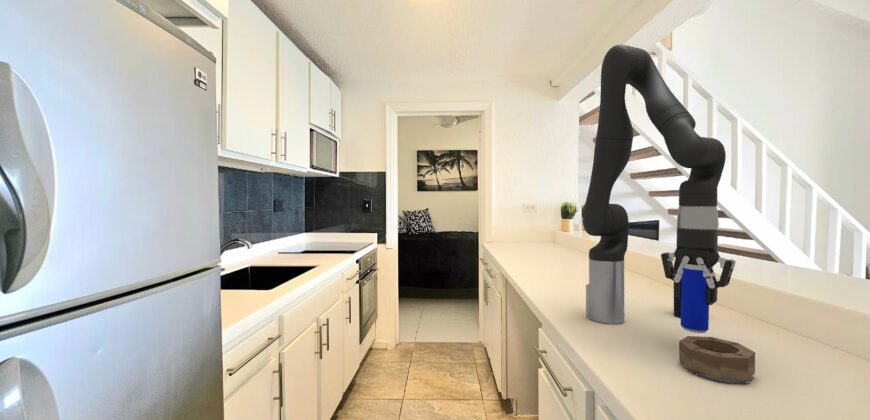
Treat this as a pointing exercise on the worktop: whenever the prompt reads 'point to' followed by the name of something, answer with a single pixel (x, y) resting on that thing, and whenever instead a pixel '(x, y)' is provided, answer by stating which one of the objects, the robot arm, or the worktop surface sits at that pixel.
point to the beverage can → (694, 300)
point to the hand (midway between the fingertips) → (695, 301)
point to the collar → (717, 359)
